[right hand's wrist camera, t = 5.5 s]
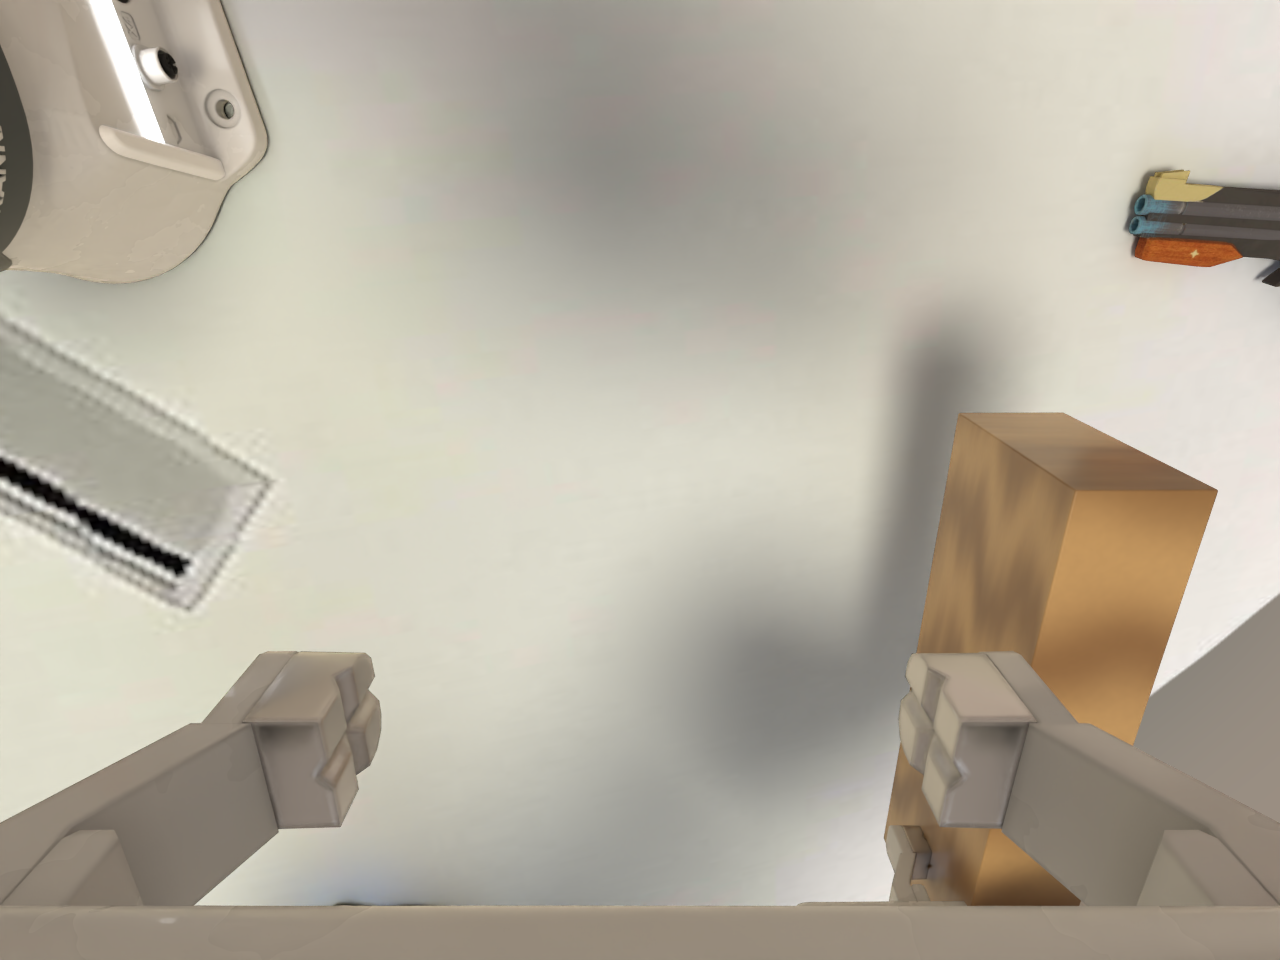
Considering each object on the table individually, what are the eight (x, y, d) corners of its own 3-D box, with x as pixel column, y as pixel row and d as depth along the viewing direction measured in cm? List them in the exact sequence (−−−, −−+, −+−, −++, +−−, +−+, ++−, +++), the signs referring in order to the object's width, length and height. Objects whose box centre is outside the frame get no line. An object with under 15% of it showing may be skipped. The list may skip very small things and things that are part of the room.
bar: (958, 412, 30) (1075, 490, 22) (1063, 412, 30) (1219, 489, 22) (883, 837, 39) (947, 1001, 31) (964, 837, 39) (1048, 1000, 31)
